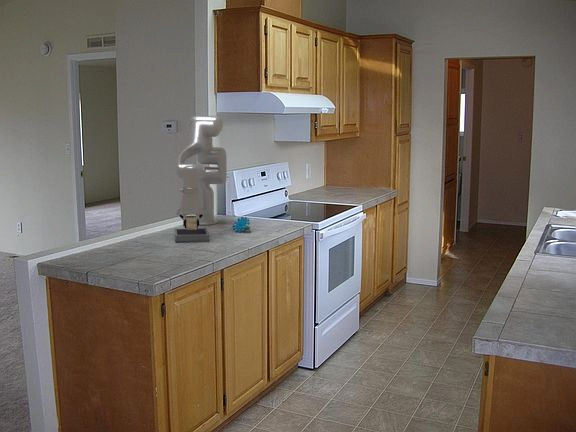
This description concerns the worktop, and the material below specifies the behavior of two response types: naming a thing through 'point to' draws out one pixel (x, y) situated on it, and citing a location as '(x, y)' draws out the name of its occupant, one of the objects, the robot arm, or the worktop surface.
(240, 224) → the gear
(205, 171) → the robot arm
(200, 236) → the tray
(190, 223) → the maple block
